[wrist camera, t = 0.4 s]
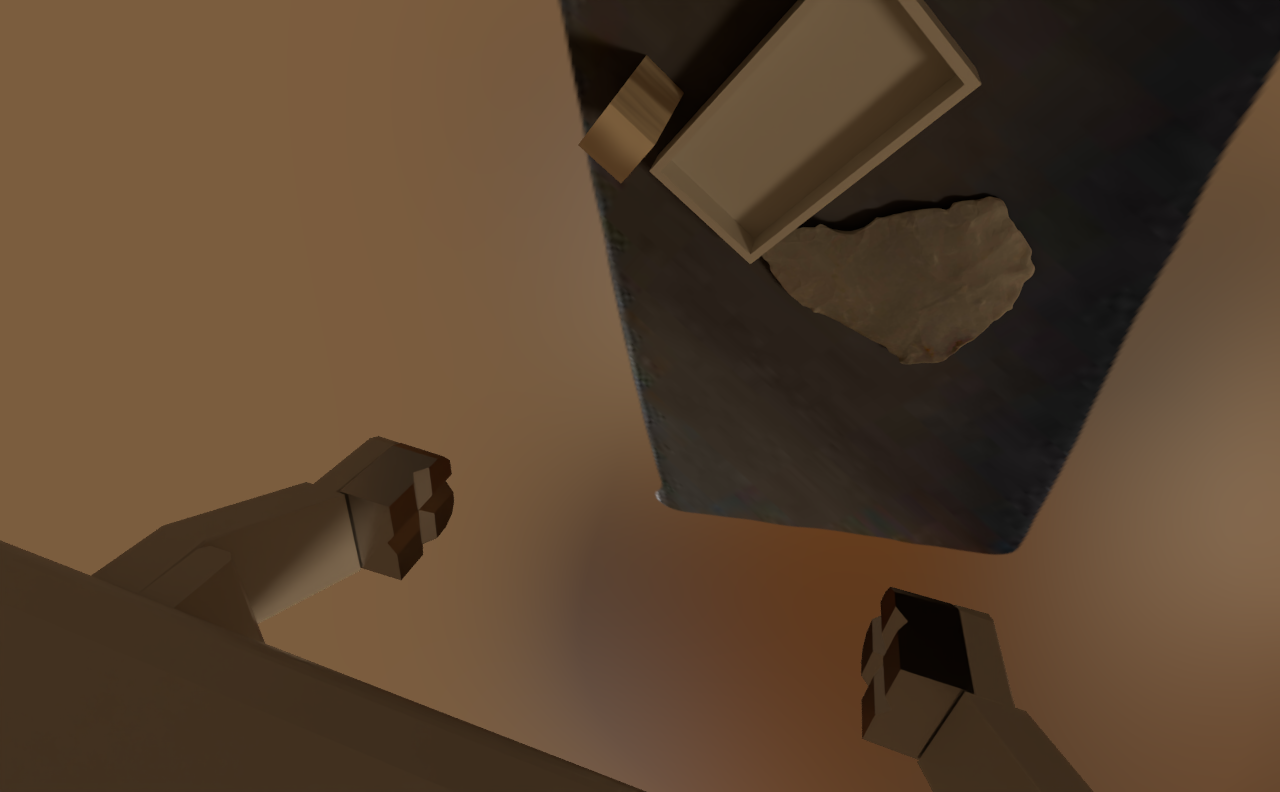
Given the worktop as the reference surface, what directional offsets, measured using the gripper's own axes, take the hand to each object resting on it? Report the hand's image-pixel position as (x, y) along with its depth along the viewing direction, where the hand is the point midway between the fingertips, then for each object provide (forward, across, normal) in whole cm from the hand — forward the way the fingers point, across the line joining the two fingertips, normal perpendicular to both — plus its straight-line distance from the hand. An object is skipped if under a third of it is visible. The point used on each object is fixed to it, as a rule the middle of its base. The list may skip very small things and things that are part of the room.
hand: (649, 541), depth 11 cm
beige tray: (+52, +2, -2) cm, 52 cm away
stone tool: (+57, -10, +11) cm, 59 cm away
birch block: (+51, +15, -2) cm, 53 cm away
